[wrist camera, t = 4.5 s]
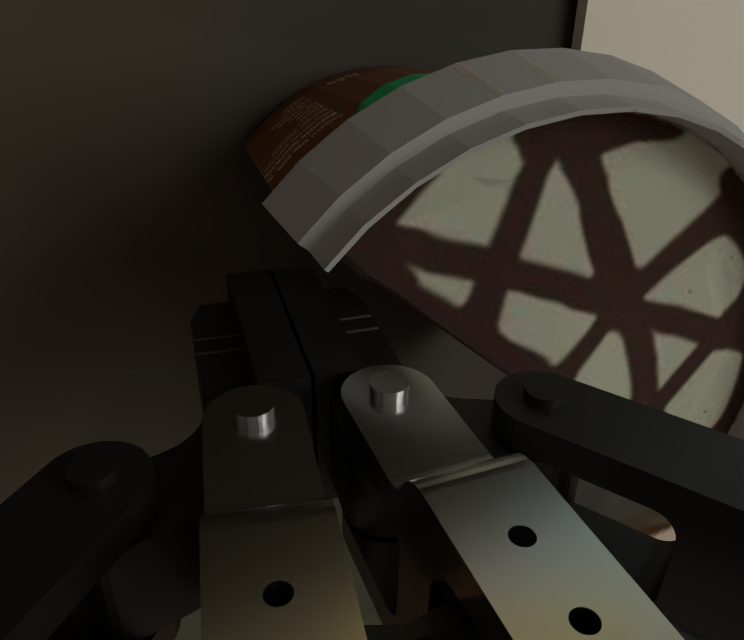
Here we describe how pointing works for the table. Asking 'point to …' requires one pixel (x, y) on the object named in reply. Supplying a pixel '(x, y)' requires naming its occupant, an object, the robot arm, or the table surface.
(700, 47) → the mat
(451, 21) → the table surface
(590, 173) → the food container
